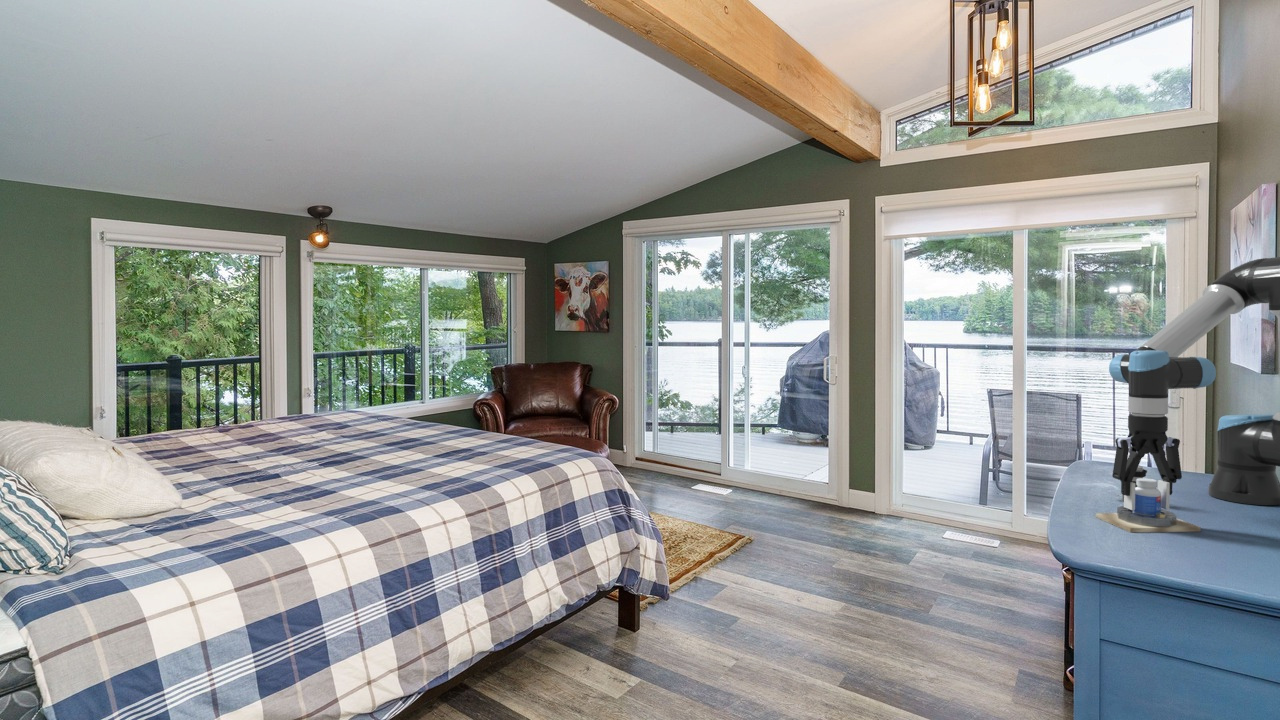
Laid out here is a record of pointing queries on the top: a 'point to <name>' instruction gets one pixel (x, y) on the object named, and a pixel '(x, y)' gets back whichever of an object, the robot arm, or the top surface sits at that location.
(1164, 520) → the ring
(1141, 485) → the pill bottle
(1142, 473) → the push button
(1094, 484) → the top surface
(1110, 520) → the board
